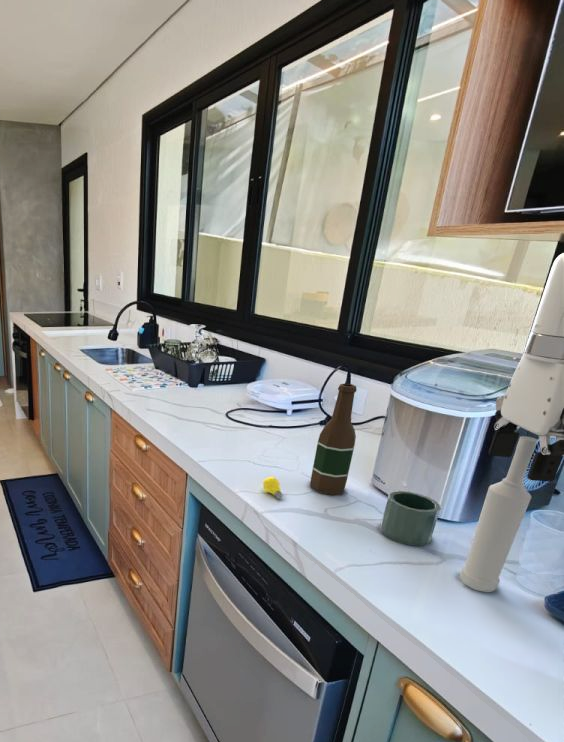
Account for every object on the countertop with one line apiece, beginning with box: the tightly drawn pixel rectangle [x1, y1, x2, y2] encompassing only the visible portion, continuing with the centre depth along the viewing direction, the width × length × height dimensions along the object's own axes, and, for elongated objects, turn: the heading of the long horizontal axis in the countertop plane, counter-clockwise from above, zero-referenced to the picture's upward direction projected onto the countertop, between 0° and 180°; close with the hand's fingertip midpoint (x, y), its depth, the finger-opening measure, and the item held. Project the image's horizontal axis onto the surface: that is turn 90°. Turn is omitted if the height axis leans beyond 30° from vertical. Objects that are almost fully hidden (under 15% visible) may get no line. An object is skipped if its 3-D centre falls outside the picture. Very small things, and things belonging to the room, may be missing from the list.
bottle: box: [459, 435, 539, 593], centre depth 77 cm, size 5×5×25 cm
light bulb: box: [262, 476, 284, 500], centre depth 110 cm, size 3×6×4 cm, turn 17°
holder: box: [380, 490, 441, 547], centre depth 95 cm, size 8×8×7 cm
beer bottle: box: [309, 383, 357, 496], centre depth 110 cm, size 8×8×24 cm
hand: (518, 467), depth 74 cm, fingers open, 8 cm apart
